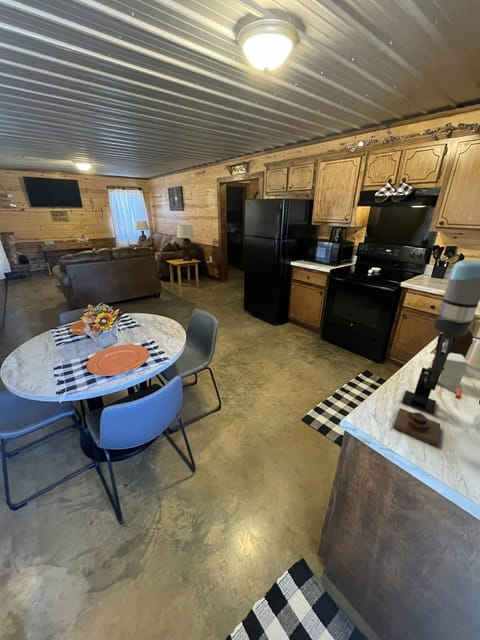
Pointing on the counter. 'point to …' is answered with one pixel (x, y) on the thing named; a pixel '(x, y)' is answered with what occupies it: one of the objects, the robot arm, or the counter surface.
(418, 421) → the button
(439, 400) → the counter surface
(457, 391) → the switch
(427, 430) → the button block
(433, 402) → the switch bracket
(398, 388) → the counter surface
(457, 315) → the robot arm
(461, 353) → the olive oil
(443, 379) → the white packaging box
